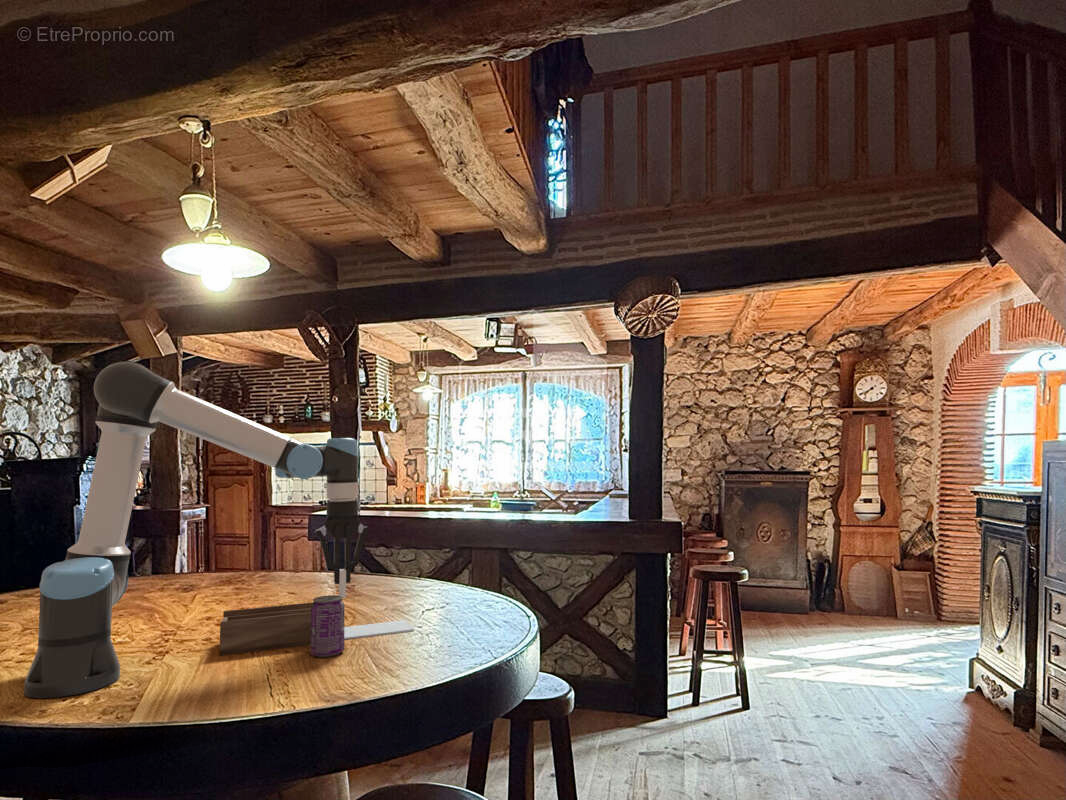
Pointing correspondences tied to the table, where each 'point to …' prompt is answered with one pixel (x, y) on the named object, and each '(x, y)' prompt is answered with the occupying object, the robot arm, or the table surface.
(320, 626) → the beverage can
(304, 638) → the box
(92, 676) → the robot arm
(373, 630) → the lid
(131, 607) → the table surface
